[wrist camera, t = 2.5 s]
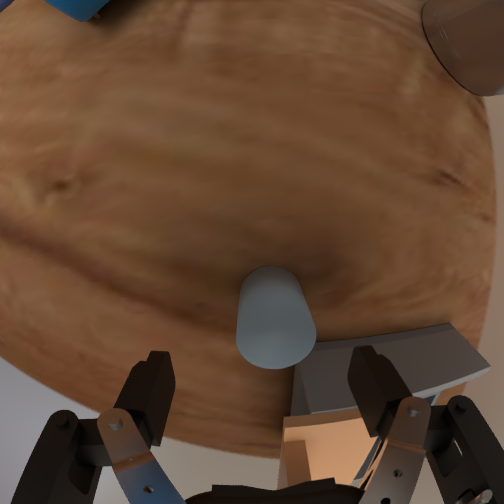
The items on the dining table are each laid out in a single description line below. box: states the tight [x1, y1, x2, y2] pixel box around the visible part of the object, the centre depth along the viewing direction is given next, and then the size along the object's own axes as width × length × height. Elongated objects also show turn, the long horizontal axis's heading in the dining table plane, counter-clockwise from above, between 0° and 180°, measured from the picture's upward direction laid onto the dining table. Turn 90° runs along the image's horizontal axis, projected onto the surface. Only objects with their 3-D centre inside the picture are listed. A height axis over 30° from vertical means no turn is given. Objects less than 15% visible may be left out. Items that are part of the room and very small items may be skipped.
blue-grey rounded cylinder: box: [236, 266, 316, 369], centre depth 16 cm, size 4×4×5 cm
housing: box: [290, 323, 491, 482], centre depth 18 cm, size 14×12×7 cm
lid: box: [277, 408, 378, 490], centre depth 12 cm, size 6×12×6 cm, turn 2°
